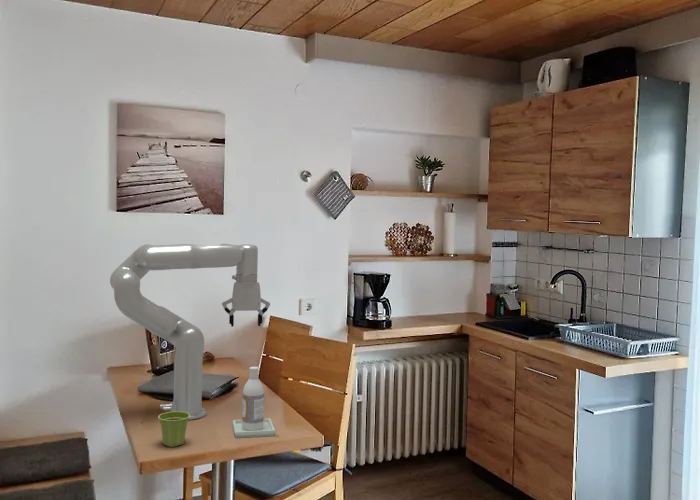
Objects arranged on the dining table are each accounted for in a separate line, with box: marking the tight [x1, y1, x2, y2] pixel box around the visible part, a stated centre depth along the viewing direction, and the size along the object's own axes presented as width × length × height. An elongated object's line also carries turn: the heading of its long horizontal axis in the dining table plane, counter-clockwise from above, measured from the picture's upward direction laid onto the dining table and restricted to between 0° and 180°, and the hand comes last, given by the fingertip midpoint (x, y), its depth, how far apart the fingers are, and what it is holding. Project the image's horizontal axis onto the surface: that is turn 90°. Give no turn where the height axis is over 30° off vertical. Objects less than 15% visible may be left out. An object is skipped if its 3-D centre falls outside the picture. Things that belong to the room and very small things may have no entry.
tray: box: [232, 417, 276, 439], centre depth 211 cm, size 13×13×2 cm
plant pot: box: [157, 411, 190, 448], centre depth 197 cm, size 9×9×9 cm
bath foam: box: [241, 366, 265, 431], centre depth 211 cm, size 7×7×20 cm
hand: (245, 325), depth 234 cm, fingers open, 9 cm apart
